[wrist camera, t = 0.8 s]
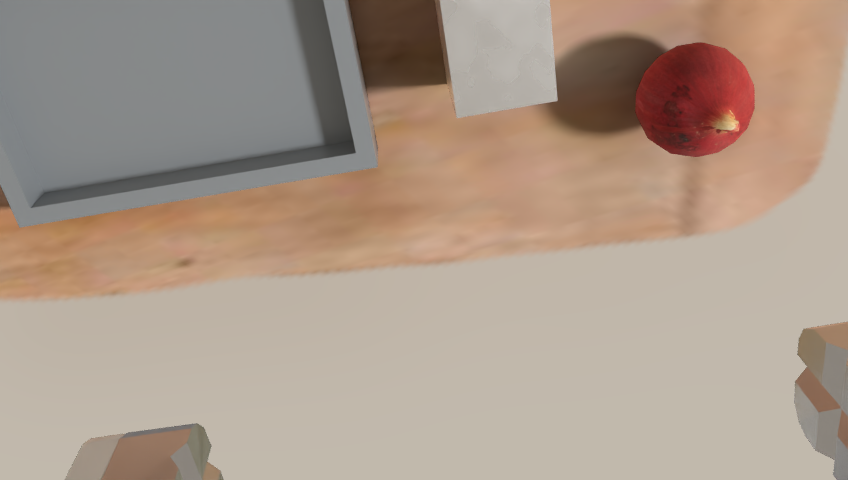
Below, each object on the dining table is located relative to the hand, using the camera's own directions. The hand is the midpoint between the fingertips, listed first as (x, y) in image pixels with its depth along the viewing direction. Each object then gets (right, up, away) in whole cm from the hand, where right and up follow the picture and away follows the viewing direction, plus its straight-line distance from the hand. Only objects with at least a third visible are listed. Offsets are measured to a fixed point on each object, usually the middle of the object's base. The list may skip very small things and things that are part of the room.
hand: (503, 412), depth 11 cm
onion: (+13, +11, +33) cm, 38 cm away
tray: (-15, +12, +31) cm, 37 cm away
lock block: (+2, +15, +31) cm, 34 cm away
